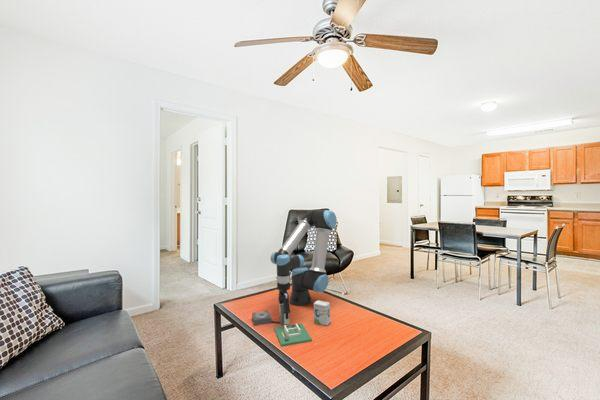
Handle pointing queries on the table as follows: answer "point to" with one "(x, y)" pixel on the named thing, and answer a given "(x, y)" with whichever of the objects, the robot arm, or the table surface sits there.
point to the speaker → (261, 318)
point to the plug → (281, 314)
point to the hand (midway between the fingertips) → (284, 319)
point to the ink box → (322, 312)
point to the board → (292, 334)
